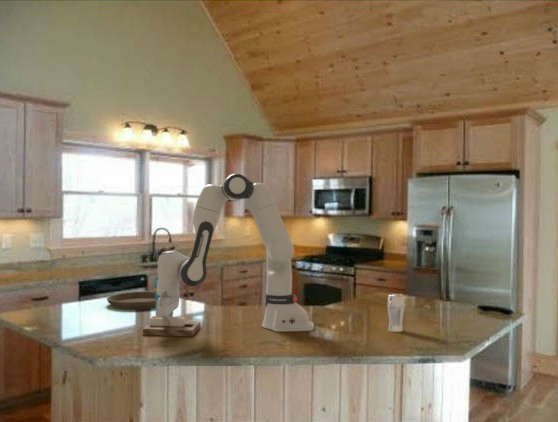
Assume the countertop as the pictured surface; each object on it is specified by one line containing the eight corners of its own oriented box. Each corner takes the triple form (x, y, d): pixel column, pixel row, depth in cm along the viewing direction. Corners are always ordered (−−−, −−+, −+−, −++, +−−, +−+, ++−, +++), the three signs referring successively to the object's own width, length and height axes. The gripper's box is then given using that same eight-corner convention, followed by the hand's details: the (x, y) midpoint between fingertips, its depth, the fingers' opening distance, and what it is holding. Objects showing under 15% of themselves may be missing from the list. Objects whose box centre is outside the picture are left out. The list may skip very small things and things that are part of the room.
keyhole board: (200, 327, 201) (200, 321, 201) (192, 336, 188) (192, 330, 187) (153, 326, 203) (153, 320, 203) (142, 334, 189) (142, 328, 189)
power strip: (185, 329, 196) (185, 316, 196) (183, 331, 193) (183, 318, 193) (151, 328, 197) (152, 315, 197) (149, 330, 194) (149, 317, 194)
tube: (155, 322, 210) (155, 278, 209) (151, 319, 214) (152, 277, 213) (171, 320, 214) (172, 277, 214) (167, 317, 218) (168, 276, 218)
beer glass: (394, 333, 197) (395, 297, 197) (383, 329, 203) (384, 294, 203) (407, 331, 200) (408, 296, 200) (396, 327, 207) (396, 293, 207)
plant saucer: (97, 303, 247) (97, 295, 247) (151, 296, 268) (151, 288, 268) (123, 314, 225) (123, 304, 224) (180, 305, 246) (180, 297, 246)
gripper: (168, 294, 184) (168, 330, 185) (182, 286, 205) (181, 318, 205) (152, 294, 185) (152, 329, 185) (167, 285, 205) (167, 317, 205)
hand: (167, 323), depth 195 cm, fingers open, 4 cm apart
